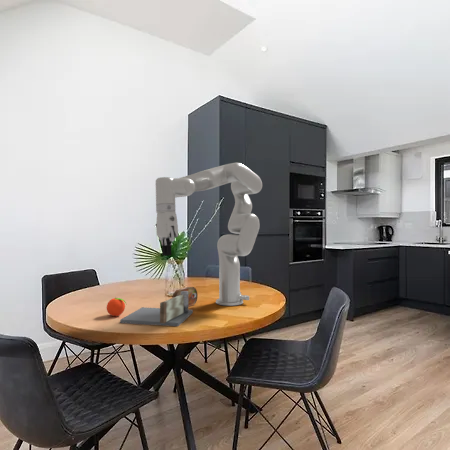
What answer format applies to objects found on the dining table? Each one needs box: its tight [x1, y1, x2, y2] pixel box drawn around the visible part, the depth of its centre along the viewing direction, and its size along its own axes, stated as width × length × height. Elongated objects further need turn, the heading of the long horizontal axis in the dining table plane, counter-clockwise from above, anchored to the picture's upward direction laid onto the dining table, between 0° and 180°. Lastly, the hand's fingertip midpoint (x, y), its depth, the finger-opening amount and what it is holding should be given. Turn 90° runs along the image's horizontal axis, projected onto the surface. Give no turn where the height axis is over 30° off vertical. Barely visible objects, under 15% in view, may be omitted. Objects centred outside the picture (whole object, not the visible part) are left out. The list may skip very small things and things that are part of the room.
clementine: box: [106, 297, 127, 317], centre depth 131 cm, size 8×7×7 cm
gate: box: [159, 295, 184, 323], centre depth 122 cm, size 15×2×7 cm, turn 160°
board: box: [119, 306, 194, 327], centre depth 128 cm, size 22×19×1 cm
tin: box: [172, 286, 198, 308], centre depth 146 cm, size 15×3×8 cm, turn 148°
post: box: [181, 291, 189, 314], centre depth 131 cm, size 3×3×10 cm
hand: (166, 255), depth 131 cm, fingers closed
